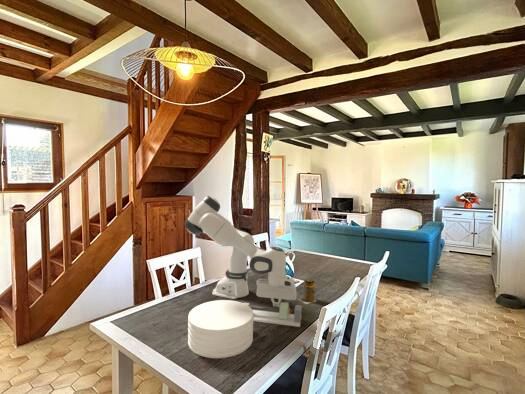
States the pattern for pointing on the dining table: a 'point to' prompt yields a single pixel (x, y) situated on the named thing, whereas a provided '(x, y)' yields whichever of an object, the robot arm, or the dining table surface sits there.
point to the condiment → (308, 292)
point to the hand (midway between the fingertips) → (276, 306)
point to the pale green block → (283, 310)
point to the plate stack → (220, 328)
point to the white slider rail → (276, 315)
